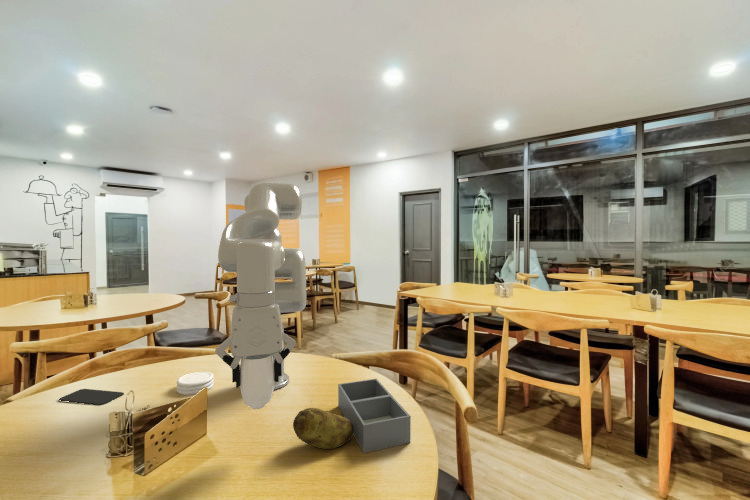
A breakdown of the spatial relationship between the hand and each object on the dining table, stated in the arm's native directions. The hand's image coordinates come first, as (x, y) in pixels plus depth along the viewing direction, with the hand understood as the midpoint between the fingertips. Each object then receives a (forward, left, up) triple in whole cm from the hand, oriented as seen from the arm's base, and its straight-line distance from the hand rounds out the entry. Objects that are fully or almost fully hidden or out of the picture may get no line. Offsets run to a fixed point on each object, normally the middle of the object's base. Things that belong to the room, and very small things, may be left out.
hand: (257, 381), depth 75 cm
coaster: (-40, -17, -16) cm, 46 cm away
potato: (+3, +14, -15) cm, 21 cm away
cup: (0, 0, -15) cm, 15 cm away
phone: (-43, -44, -16) cm, 63 cm away
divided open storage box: (-3, +26, -15) cm, 31 cm away
